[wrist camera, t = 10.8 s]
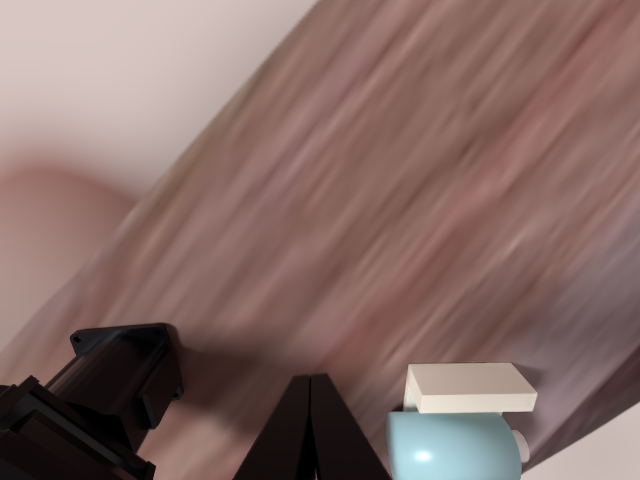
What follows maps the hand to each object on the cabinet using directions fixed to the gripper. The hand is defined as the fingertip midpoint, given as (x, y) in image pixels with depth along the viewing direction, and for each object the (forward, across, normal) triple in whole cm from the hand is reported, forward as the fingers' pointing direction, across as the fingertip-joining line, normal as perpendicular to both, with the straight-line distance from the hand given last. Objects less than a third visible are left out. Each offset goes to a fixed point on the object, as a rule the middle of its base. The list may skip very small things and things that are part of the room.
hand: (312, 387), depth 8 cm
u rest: (+13, -10, +17) cm, 23 cm away
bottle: (+10, -5, +16) cm, 20 cm away
